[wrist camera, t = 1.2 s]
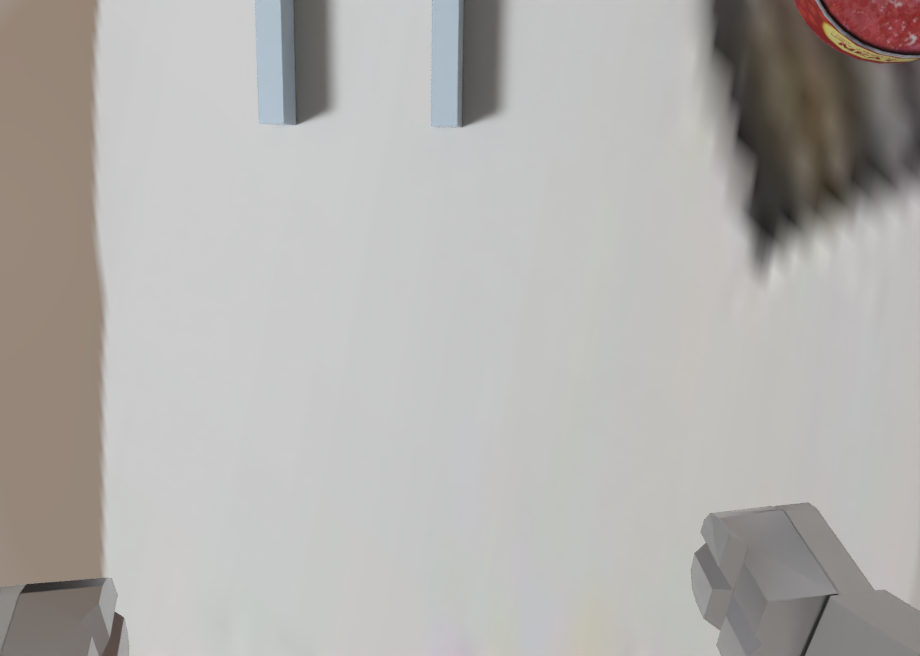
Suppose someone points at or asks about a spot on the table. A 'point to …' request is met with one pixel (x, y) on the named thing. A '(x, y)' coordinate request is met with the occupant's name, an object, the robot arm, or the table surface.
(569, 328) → the table surface
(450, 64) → the channel
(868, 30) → the canned food
